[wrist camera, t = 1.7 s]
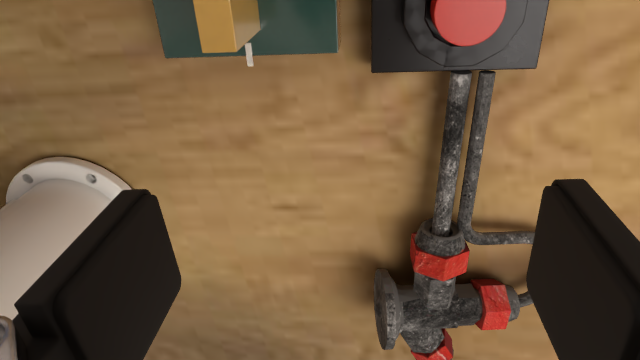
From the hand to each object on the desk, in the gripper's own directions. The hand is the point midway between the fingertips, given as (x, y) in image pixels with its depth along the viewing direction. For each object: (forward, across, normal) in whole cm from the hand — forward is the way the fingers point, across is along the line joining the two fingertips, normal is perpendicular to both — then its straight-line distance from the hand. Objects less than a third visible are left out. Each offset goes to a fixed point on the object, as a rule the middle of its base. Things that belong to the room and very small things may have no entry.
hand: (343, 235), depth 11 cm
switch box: (+21, -6, -2) cm, 22 cm away
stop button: (+18, -6, -2) cm, 19 cm away
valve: (+21, -8, +15) cm, 27 cm away
